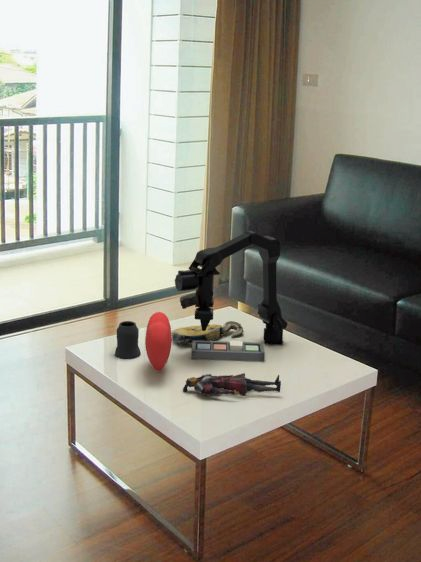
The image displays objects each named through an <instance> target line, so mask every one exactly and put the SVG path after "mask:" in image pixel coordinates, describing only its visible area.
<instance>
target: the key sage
mask: <svg viewBox="0 0 421 562" xmlns="http://www.w3.org/2000/svg"><path fill="white" fill-rule="evenodd" d="M245 352H259V350H258V346H251V345H245Z"/></svg>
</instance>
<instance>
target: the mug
mask: <svg viewBox="0 0 421 562" xmlns="http://www.w3.org/2000/svg"><path fill="white" fill-rule="evenodd" d="M139 332H140V331H139V328H138V326H137V323H136V322H134V321H130V320H126V321H125V320H124V321H121V322H119V324H118V326H117V328H116V348H115V351H114V356H115V357H116V358H118V359H121V360H134V359H137V358H140V357H141V354H142V353H141V349H140V346H139V335H140V334H139Z"/></svg>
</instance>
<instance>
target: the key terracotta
mask: <svg viewBox="0 0 421 562" xmlns="http://www.w3.org/2000/svg"><path fill="white" fill-rule="evenodd" d="M213 350H215V351H226V345H221V344H214V349H213Z"/></svg>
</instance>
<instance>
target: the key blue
mask: <svg viewBox="0 0 421 562" xmlns="http://www.w3.org/2000/svg"><path fill="white" fill-rule="evenodd" d="M197 350H210V344H198V347H197Z"/></svg>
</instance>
